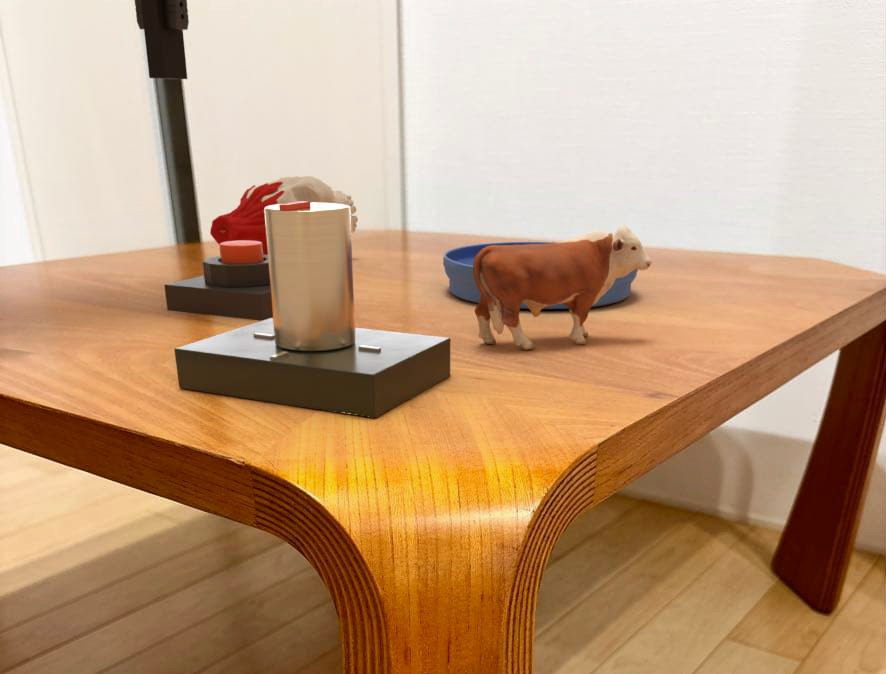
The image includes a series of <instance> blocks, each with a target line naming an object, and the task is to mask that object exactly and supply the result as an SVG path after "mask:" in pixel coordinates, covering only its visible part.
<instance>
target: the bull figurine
mask: <svg viewBox="0 0 886 674" xmlns="http://www.w3.org/2000/svg"><path fill="white" fill-rule="evenodd" d="M652 263H653V262H652V258H651V257H650V256H649V254H648V253H647V251H646V249H645V247H644V246H643V243H642V241H641V240H640V239H639V238H638V236H637V235H636V234H634V233H633V232H632V230H631V229H630V228H629V227H628V226H627V225H622V226H619V227H618V228H617V230H616V231H615V232H613V233H609V232H606V231H602V230H591V231H588V232H587V233H585V234H583V235H582V236H579V237H573V238H569V239H566V240H562V241H557V242H556V243H548V244H527V245H490V246H487V247H485V248H483V249H482V250H481V251H480V252H479V253H478V254H477V256H476V257H475V259H474V264H473V275H474V280H475V283H476V285H477V287H478V289H479V291H480V292H481V298H480V302H479V303H477V305H476V306H475V309H474V314H475V316H476V320H477V323H478V330H479V331H478V338H479V339H481V340H482V341H483V343H485V344H486V345H494V344H496V343H497V340H496V337H495V336H494V334H493V332H492V330H491V324H492V327H493V330H494V331H495V332H496V333H497V335H501V334H503V332H504V327H505V326H506V328H508V330H509V331H510V333H511V335H512V340H513V344H514V346H516V347H520V346H521V348H522V349H523V350H533V349H535V345H534V343H533V342H532V341H531V340H530V338H529V337H528V336H527V335H526V334H525V333H524V331H523V328H522V325H521V322H520V309H521V308H520V306H521V303H524V304H525V305H527V306H528V308H529V309H528V310H529V311H530V312H531V314H532V316H533V317H534V318H537V317H539V316H540V315H541V311H542V310H544V309H543V308H544V307H547V306H551V305H555V304H559V303H561V304H564V305H566V306H568V307H569V309H568V311H569V315H570V316H571V318H572V321H573V326H572V329H571V332H570V333H569V338H570V340H571V341H574V343H576V345H586V344H587V341H586V338H585V337H588V336H589V332H588V331H587V330H586V328H585V326H584V323H585V322H586V321H587V319H588V316H589V313H590V310H591V308H593V307H592V305H594V304H595V303H597V302H598V300H599V299H600V297H601V296H602V295H604V294H605V293H606V292H607V291H608V290H609V289H610V288H611V287H612V285H613V283H614V281H615V279H616V278H620V277H624V276H626V275H628V274H629V273H630V272H632V271H633V270H635V269H638V271H639V270H640V271H645V270H648V269H650V267H651V265H652Z"/></svg>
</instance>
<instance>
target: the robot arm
mask: <svg viewBox="0 0 886 674" xmlns="http://www.w3.org/2000/svg"><path fill="white" fill-rule="evenodd" d="M134 6H135V15H136V23H137V25H138V28H139V29H140V30H143V33H144V42H145V51H146V59H147V69H148V77H149V79H161V80H162V79H164V80H165V79H166V80H188V71H187V61H186V48H185V39H184V31H188V29H189V22H190V21H189V9H188V0H134Z"/></svg>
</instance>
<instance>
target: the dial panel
mask: <svg viewBox="0 0 886 674" xmlns="http://www.w3.org/2000/svg"><path fill="white" fill-rule="evenodd" d="M355 339H356V340H355V343H354V344H352V345H350V346H348V347H345V348H341V349H336V350H329V351H293V350H287V349H283V348H280V347H278V346H277V345H276V344H275V338H274V325H273V318H269V319H266V320H263V321H261V320H259V321H257V322H254V323H251V324H247V325H244V326H241V327H238V328H235V329H232V330H228V331H225V332H222V333H219V334H216V335H213V336H210V337H207V338H204V339H200V340H198V341H194V342H191V343H188V344H185V345H181V346H178V347H175V348H174V358H175V365H176V374H177V380H178V388H179V389H182V390H188V391H189V390H190V391H196V392H202V393H209V394H216V395H222V396H229V397H235V398H241V399H246V400H247V399H248V400H254V401H261V402H267V403H274V404H279V405H287V406H294V407H299V408H306V409H312V408H314V409H313V410H319V409H322V410H321V411H325V410H328V411H327V412H332V411H336V412H335V413H338V412H345V413H351V414H357V415H356V416H358V415H363V416H362V417H364V416H369V417H368V418H371V417H376V416H377V417H379V416H381V415H383V414H384V412H385V413H386V412H388V411H390V410H392V409H394V408H396V407H397V406H400V405H401V404H403V403H405V402H406V401H408V400H409V398H410V399H411V398H413V397H415V396H417V395H418V394H420V393H422V392H425V390H427V389H429V388H432V387H434V385H436V384H438V383H440V382H442V381H444V380H445V379H447V378H449V377H450V376H451V337H445V336H435V335H427V334H419V333H418V334H417V333H407V332H399V331H391V330H383V329H381V330H380V329H373V328H363V327H355ZM393 407H394V408H393ZM315 408H316V409H315ZM345 413H344V414H345ZM382 413H383V414H382ZM351 414H350V415H351ZM380 414H381V415H380ZM378 415H379V416H378ZM377 417H376V418H377Z"/></svg>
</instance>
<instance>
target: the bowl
mask: <svg viewBox="0 0 886 674" xmlns="http://www.w3.org/2000/svg"><path fill="white" fill-rule="evenodd" d="M548 243H557V242H554V241H552V242H551V241H508V242H504V241H503V242H488V243H478V244H471V245H464V246H459V247H455V248H452V249H449V250H447V251H445V252H444V253H443V261H442V265H443V267H444V273H445V274H446V276H447V278H448V279H449V281H448V282H449V284H448V287H449V291H450V293H451V294H452V295H454V296H455V297H457V298H459V299H462V300H464V301H467V302H471V303H476V304H479V302H480V298H481V292H480V291H479V289H478V287H477V285H476V283H475V280H474V275H473V264H474V259H475V257H476V256H477V254H478V253H479V252H480V251H481V250H482V249H483V248H485V247H487V246H490V245H527V244H548ZM638 271H639V269H635V270H633V271H632V272H630V273H629V274H628V275H626V276H624V277H620V278H616V279H615V281H614V283H613V285H612V287H611V288H610V289H609V290H608V291H607V292H606V293H605V294H604V295H602V296H601V297H600V299H599V300H598V302H597V303H595V304H594V305H592V307H591V308H596V307H603V306H608V305H612V304H616V303H619V302H621V301H623V300H625V299H627V298H628V297H629V296H630V294H631V288H632V283H633V282H634V281H635V279H636V278H637V275H638ZM520 309H521V310H523V309H524V310H530V309H529V308H528V306H527V305H525V304H524V303H521V306H520ZM542 310H569V307H568V306H566V305H564V304H561V303H559V304H555V305H551V306H547V307H544V308H543V309H542Z"/></svg>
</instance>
